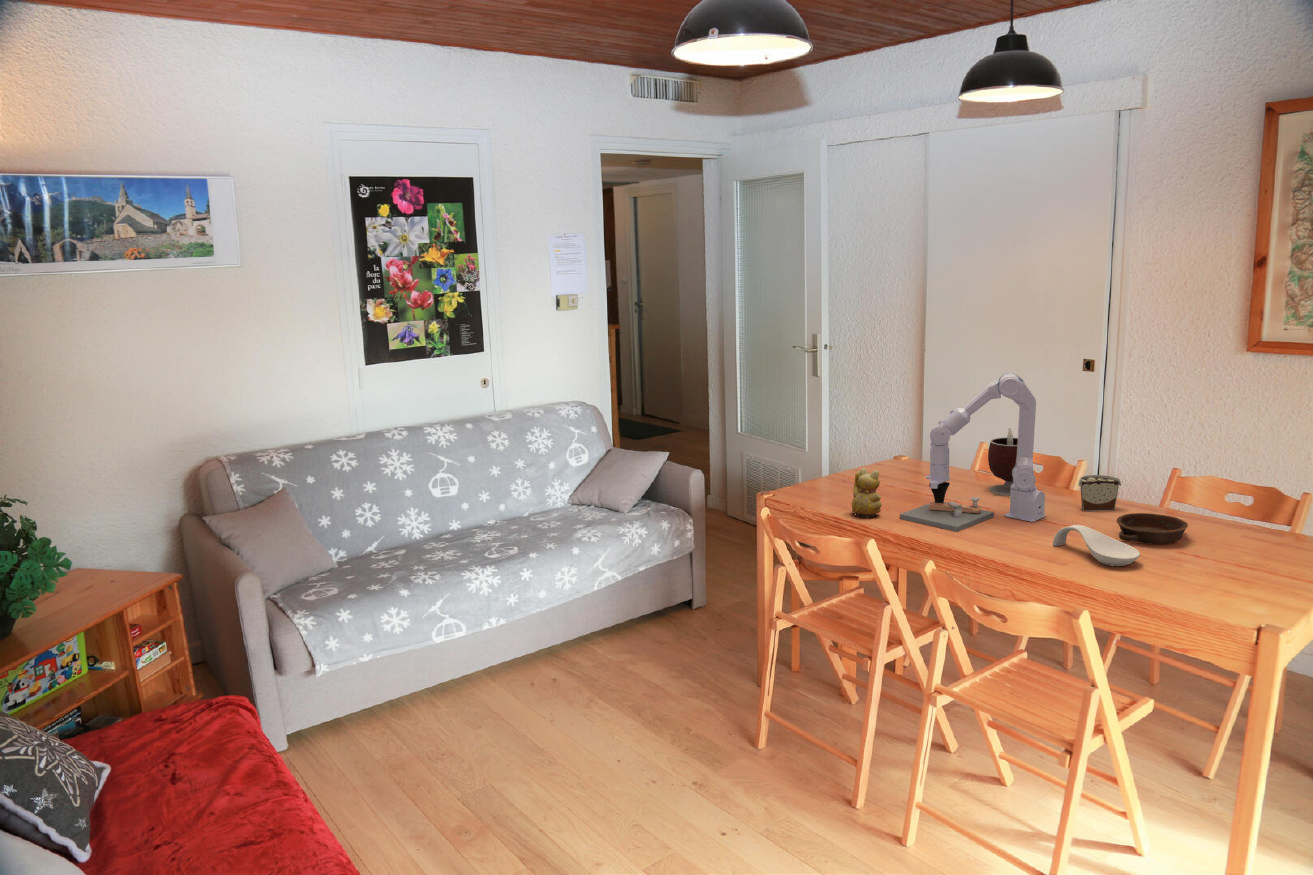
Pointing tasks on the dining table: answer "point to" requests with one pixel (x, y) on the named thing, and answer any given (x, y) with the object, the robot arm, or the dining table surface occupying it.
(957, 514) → the keeper
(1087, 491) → the food container
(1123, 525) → the dish
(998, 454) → the mate gourd
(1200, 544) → the dining table surface
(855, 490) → the decorative figurine
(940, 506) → the link
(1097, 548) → the spoon rest
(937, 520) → the board
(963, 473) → the dining table surface
